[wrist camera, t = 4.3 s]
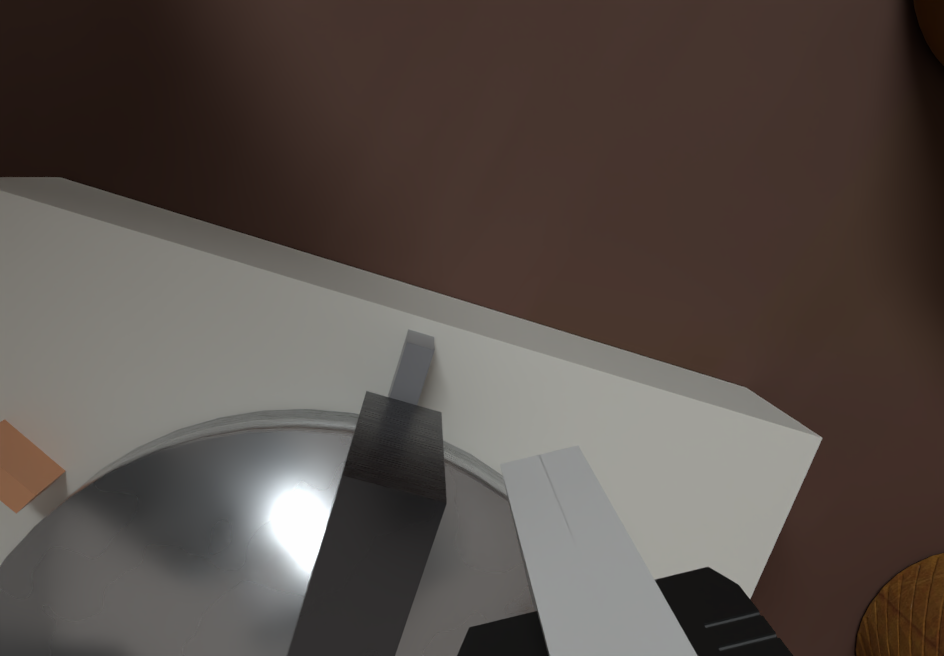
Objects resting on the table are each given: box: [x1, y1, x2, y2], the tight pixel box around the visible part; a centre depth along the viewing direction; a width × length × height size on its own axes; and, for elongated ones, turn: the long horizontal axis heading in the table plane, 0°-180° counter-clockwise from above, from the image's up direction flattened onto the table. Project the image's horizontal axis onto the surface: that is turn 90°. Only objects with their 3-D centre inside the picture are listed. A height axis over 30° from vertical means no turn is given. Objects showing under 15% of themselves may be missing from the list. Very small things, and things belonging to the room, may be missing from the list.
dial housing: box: [0, 177, 822, 599], centre depth 18 cm, size 20×20×5 cm
